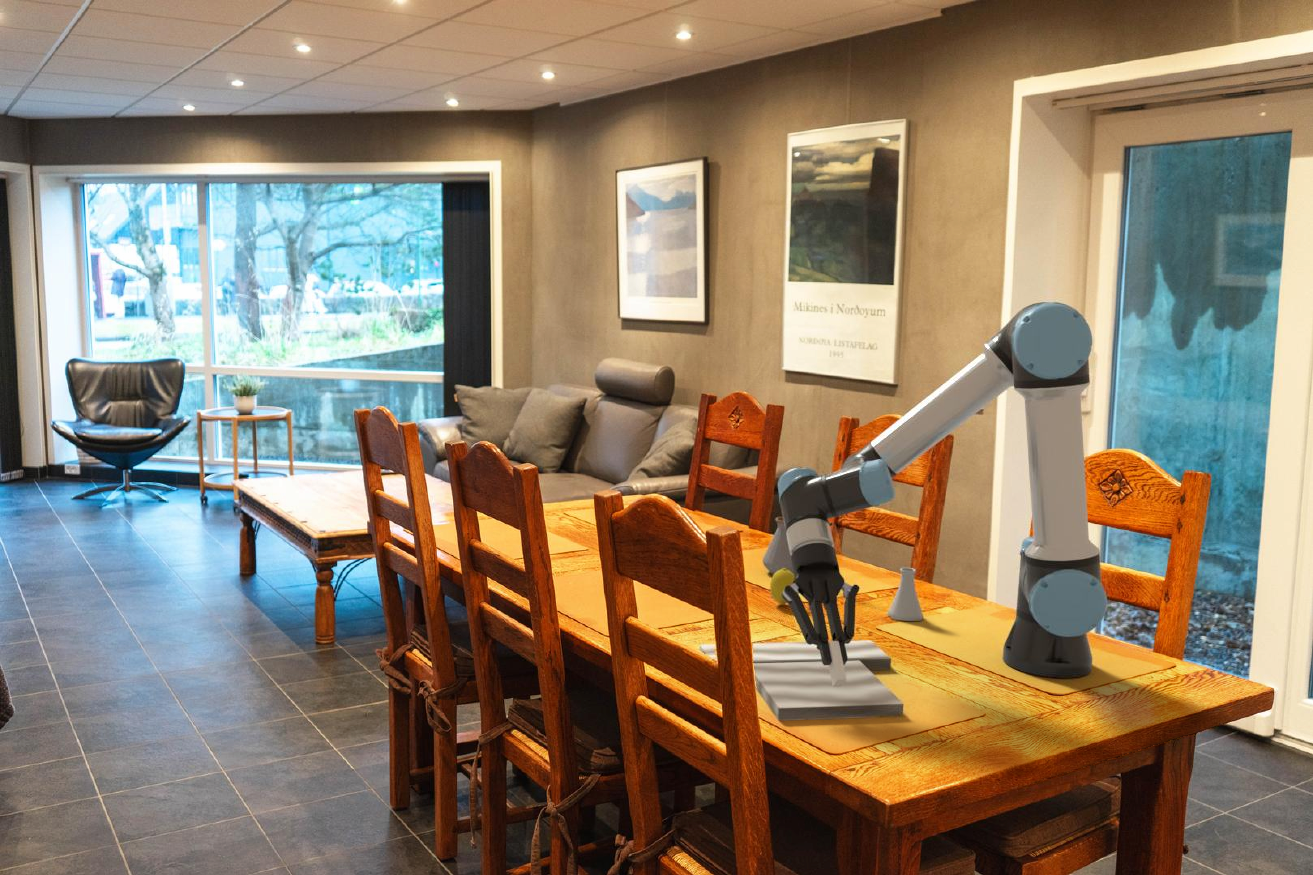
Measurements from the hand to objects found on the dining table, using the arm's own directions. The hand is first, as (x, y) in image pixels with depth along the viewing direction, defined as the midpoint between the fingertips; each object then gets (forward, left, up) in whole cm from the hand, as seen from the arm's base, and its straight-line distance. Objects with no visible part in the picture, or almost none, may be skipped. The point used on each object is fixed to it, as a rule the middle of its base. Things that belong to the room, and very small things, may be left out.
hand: (839, 682), depth 171 cm
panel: (+7, -4, -5) cm, 10 cm away
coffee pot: (+60, -55, -5) cm, 82 cm away
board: (+21, -12, -5) cm, 24 cm away
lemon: (+47, -36, -5) cm, 60 cm away
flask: (+27, -51, -5) cm, 58 cm away
